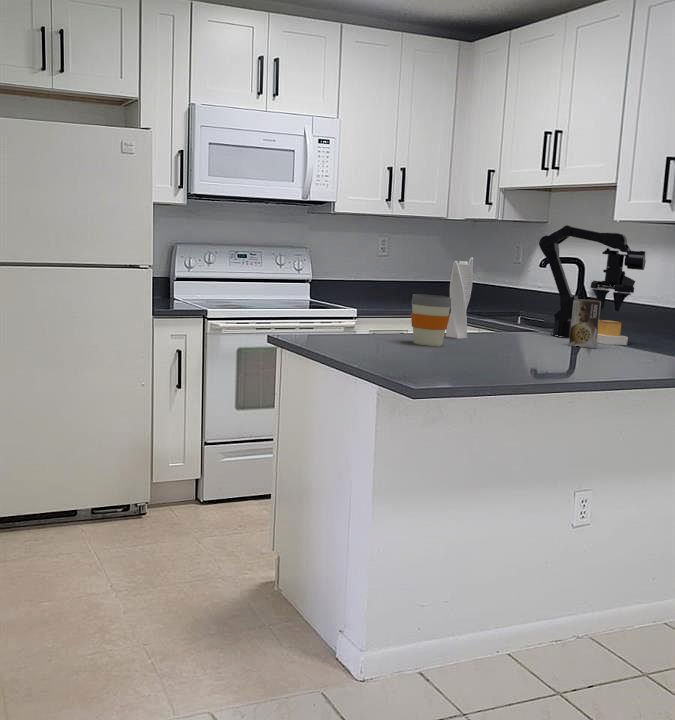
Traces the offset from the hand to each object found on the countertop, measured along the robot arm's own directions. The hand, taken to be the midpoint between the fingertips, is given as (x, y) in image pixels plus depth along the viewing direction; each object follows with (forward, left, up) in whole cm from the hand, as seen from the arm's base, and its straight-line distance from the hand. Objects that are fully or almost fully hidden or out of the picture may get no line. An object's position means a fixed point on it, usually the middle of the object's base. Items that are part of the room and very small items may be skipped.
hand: (609, 310), depth 315 cm
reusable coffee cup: (-83, -21, -12) cm, 86 cm away
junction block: (-1, -2, -12) cm, 12 cm away
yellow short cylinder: (-1, -2, -9) cm, 9 cm away
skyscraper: (-63, -2, -12) cm, 64 cm away
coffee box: (-21, -15, -12) cm, 29 cm away
